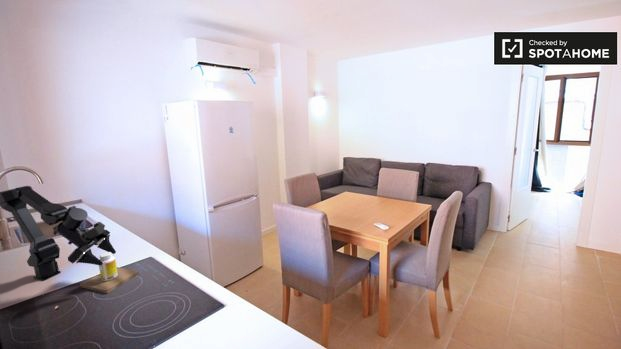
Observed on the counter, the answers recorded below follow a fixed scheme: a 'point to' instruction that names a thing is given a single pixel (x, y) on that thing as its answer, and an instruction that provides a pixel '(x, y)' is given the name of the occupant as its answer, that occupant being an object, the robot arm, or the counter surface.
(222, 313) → the counter surface
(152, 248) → the counter surface
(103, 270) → the supplement bottle
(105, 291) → the board
